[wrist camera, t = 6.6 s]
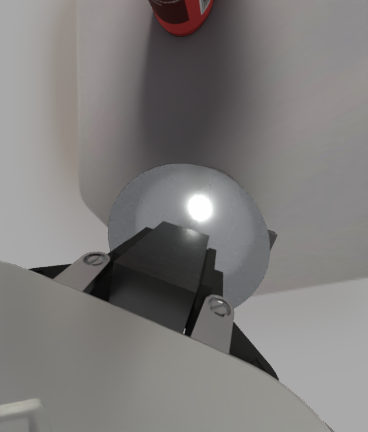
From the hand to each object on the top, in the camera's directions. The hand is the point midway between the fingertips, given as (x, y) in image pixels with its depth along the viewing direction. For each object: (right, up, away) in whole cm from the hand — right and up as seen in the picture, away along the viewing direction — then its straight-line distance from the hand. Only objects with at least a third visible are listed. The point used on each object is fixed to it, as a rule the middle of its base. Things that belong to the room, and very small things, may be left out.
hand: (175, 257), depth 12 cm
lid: (+1, +1, +2) cm, 2 cm away
